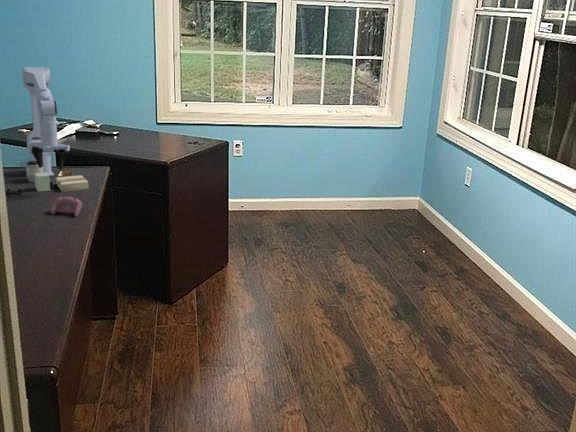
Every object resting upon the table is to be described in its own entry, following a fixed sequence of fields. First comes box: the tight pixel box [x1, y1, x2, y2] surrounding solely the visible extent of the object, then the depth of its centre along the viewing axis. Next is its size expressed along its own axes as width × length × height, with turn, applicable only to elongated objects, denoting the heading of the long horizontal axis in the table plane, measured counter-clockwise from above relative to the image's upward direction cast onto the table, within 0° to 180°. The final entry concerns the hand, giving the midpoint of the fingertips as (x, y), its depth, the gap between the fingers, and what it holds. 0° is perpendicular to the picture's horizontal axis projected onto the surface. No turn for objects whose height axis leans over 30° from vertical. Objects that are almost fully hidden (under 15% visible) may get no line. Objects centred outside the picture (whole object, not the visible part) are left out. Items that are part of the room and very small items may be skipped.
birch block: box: [55, 174, 90, 193], centre depth 239 cm, size 10×10×3 cm
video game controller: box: [50, 196, 83, 218], centre depth 212 cm, size 10×5×7 cm, turn 84°
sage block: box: [34, 172, 51, 192], centre depth 234 cm, size 4×4×6 cm
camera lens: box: [25, 160, 43, 184], centre depth 243 cm, size 6×6×8 cm
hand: (50, 167), depth 229 cm, fingers open, 7 cm apart
